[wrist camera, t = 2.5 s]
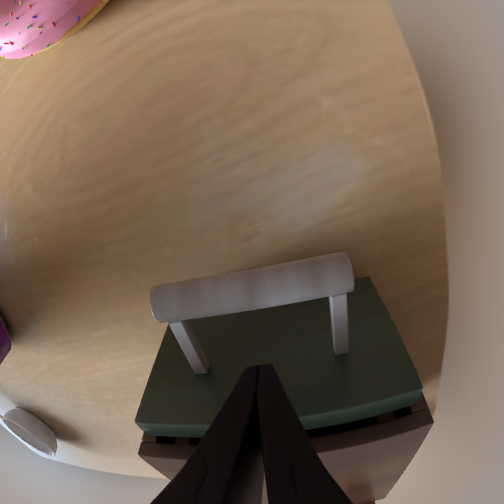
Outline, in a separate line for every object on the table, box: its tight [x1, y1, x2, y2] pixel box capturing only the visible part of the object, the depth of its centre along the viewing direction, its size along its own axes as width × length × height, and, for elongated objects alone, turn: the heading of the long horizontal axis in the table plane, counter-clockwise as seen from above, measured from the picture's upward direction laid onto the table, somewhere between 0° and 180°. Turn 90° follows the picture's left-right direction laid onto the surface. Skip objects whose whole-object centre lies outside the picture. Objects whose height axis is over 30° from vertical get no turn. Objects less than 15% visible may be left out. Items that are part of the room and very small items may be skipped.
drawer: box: [135, 251, 423, 445], centre depth 15 cm, size 18×11×8 cm, turn 13°
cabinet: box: [138, 392, 434, 504], centre depth 17 cm, size 15×13×10 cm
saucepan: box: [0, 407, 57, 456], centre depth 29 cm, size 11×18×4 cm, turn 59°
